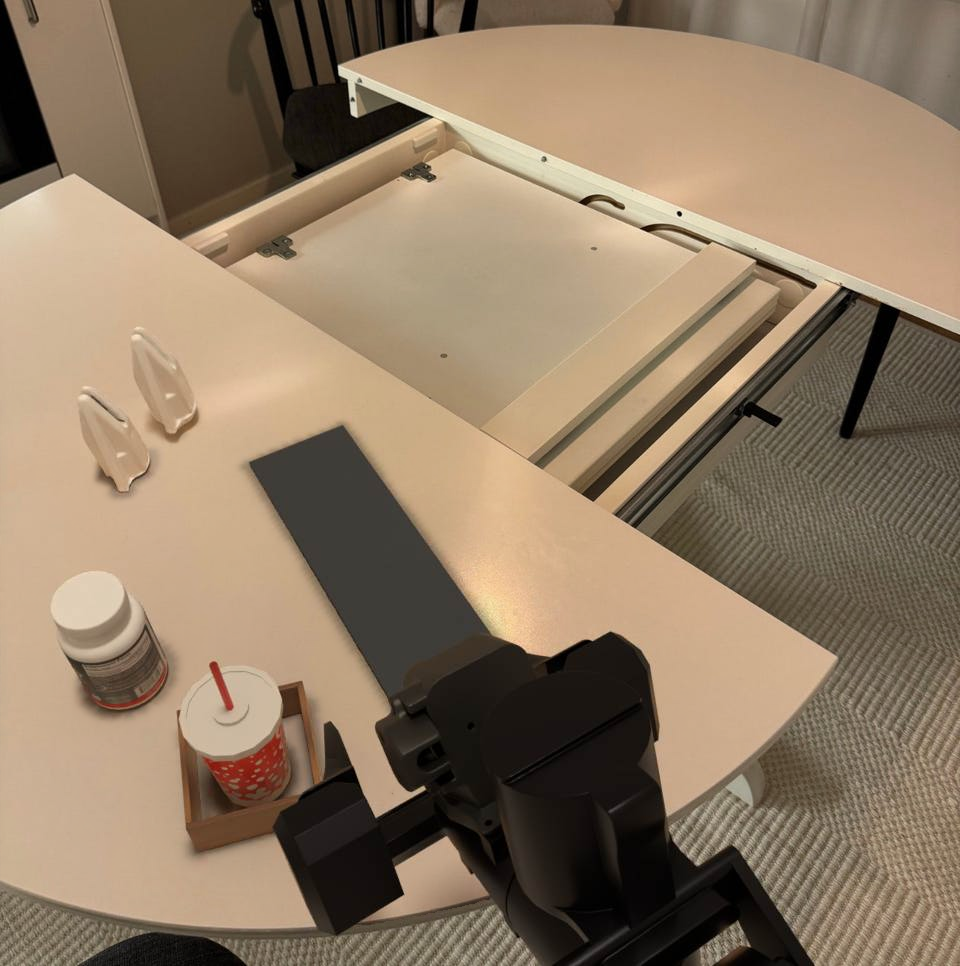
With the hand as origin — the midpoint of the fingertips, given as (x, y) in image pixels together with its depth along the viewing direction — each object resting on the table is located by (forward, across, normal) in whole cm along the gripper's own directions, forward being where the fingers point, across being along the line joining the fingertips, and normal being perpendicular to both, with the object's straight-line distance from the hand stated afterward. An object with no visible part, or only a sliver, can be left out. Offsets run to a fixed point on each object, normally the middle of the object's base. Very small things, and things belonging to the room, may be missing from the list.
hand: (406, 687), depth 52 cm
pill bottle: (+24, +13, +6) cm, 28 cm away
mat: (+24, -6, +6) cm, 26 cm away
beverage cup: (+13, +8, +11) cm, 19 cm away
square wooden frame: (+13, +8, +11) cm, 19 cm away
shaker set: (+44, +4, -2) cm, 45 cm away
